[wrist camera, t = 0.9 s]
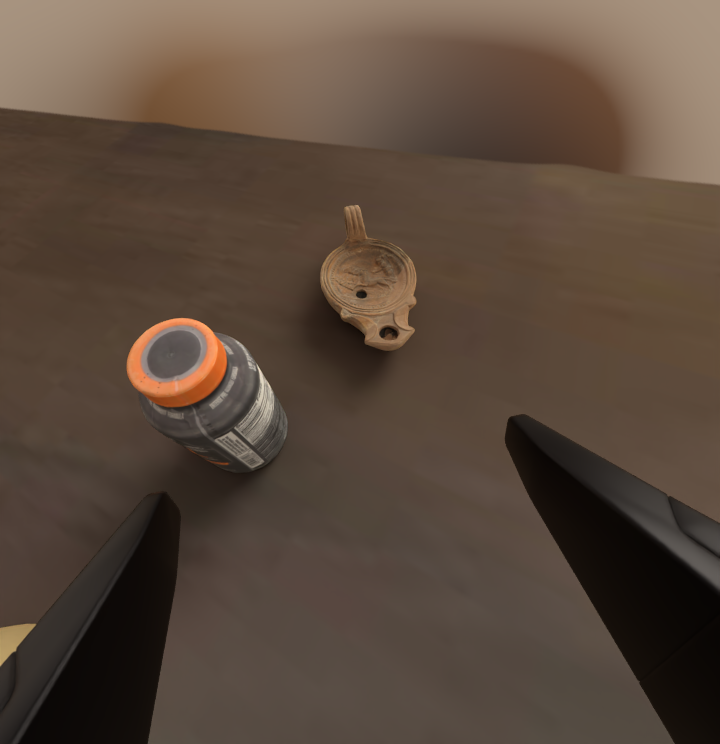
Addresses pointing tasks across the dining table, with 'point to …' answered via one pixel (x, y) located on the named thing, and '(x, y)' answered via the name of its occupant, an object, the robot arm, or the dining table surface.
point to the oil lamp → (370, 285)
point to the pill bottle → (207, 395)
